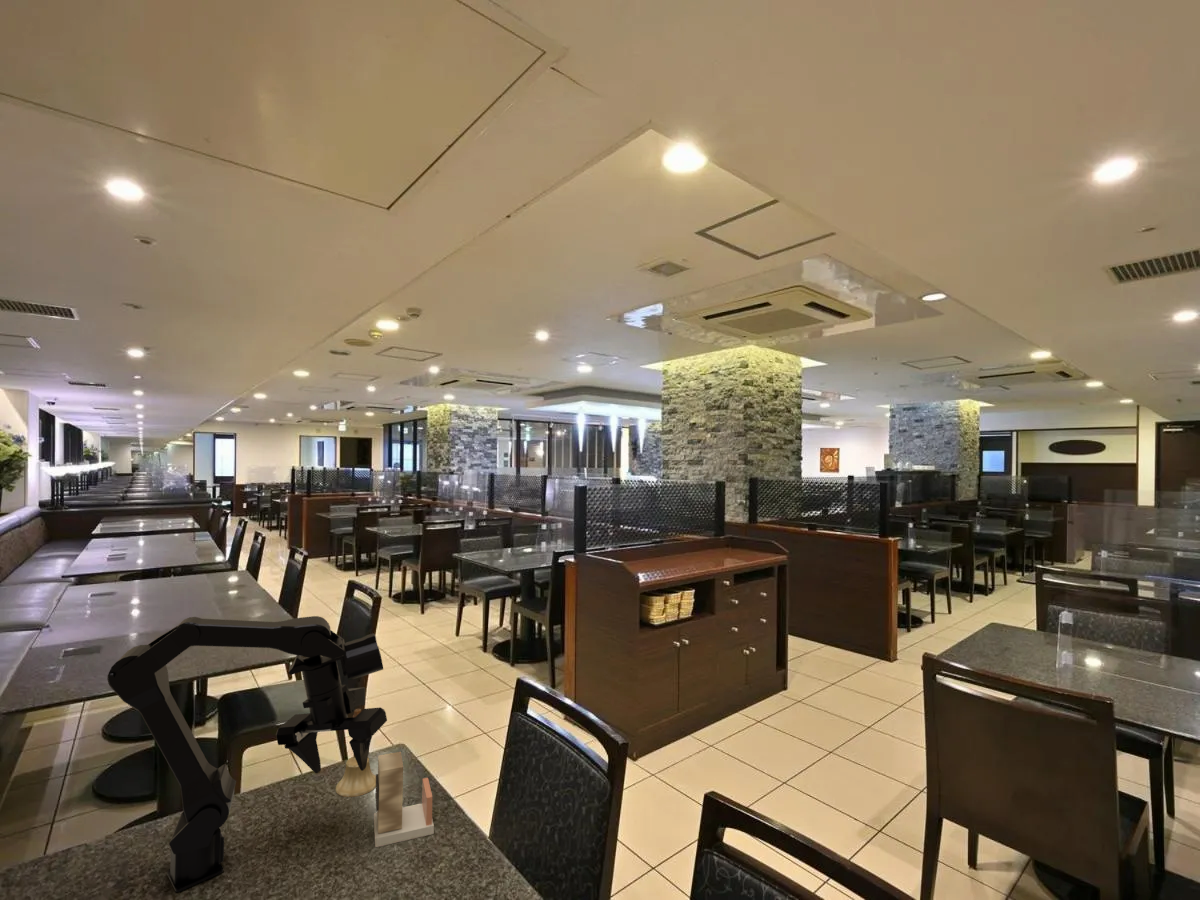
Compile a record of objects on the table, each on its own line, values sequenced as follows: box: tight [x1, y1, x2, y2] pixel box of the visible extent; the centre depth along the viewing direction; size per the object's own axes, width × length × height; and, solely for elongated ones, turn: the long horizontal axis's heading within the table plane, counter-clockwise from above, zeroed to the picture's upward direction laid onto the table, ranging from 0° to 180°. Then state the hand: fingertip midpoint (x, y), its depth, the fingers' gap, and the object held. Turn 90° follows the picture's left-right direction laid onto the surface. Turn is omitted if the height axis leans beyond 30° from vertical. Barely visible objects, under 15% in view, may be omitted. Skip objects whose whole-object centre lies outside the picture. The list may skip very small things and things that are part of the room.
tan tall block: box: [374, 751, 404, 834], centre depth 107 cm, size 4×6×11 cm
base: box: [373, 777, 435, 848], centre depth 108 cm, size 10×8×6 cm
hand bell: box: [335, 708, 376, 798], centre depth 122 cm, size 8×8×16 cm
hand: (340, 770), depth 105 cm, fingers open, 9 cm apart
